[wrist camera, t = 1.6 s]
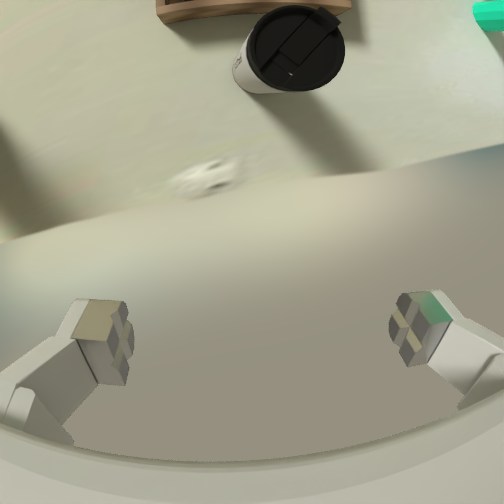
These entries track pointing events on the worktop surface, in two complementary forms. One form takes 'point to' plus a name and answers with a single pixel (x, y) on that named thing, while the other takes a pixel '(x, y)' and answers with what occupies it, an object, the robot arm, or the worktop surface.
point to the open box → (236, 7)
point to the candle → (490, 15)
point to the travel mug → (290, 51)
